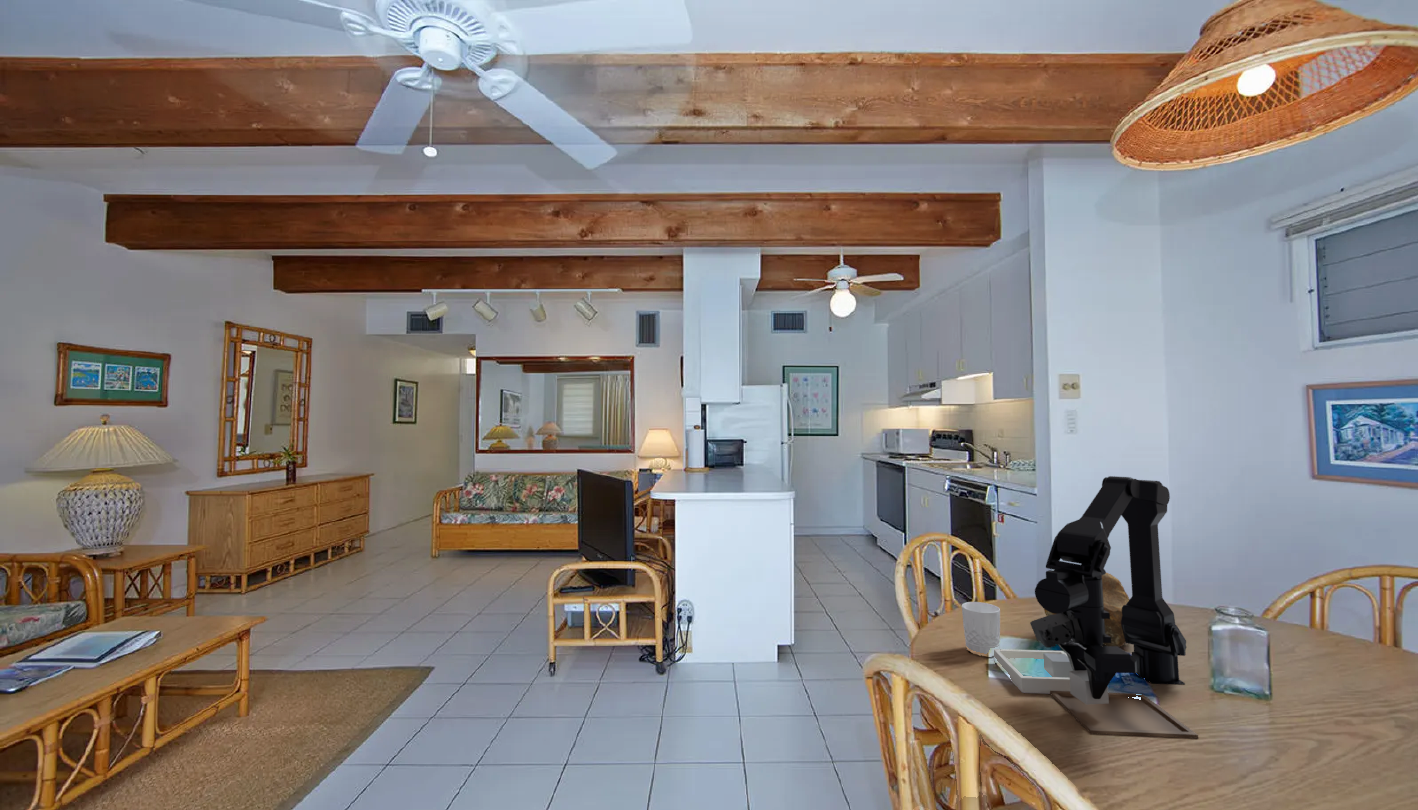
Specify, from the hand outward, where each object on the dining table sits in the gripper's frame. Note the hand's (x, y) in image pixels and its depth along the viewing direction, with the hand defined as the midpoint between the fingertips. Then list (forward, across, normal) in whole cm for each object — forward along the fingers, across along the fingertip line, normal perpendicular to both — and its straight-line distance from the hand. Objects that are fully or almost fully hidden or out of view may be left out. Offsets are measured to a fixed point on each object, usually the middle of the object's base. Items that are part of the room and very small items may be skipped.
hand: (1088, 692), depth 98 cm
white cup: (+4, -28, -8) cm, 30 cm away
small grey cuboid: (+1, 0, 0) cm, 1 cm away
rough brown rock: (+4, -38, +22) cm, 44 cm away
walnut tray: (+4, 0, +5) cm, 6 cm away
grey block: (+4, -14, +2) cm, 15 cm away
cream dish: (+4, -14, -1) cm, 15 cm away
